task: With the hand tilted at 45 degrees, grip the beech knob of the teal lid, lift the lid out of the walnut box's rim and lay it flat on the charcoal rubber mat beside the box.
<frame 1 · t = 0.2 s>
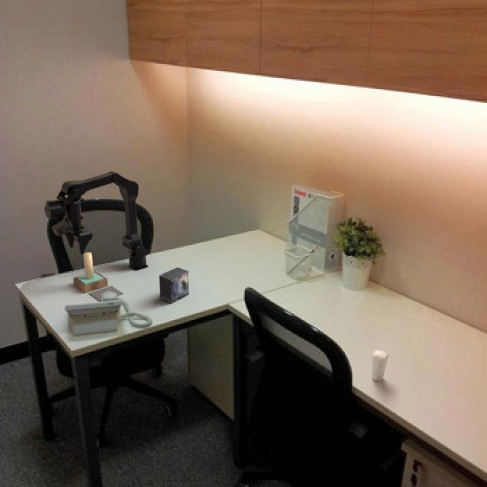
hand: (76, 251, 218), 15 cm above the table, tool pointing down, fingers open, 9 cm apart
mat: (106, 293, 216), on the table
walnut box: (90, 285, 223), on the table
small box: (174, 297, 214), on the table
lid: (90, 280, 222), point 2 cm above the table, touching walnut box
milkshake: (378, 379, 164), on the table
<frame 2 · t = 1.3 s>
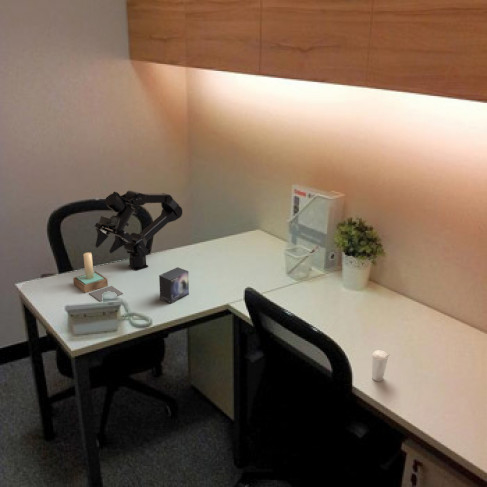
hand: (103, 249, 223), 13 cm above the table, tool tilted 45°, fingers open, 9 cm apart
nothing on the table moved.
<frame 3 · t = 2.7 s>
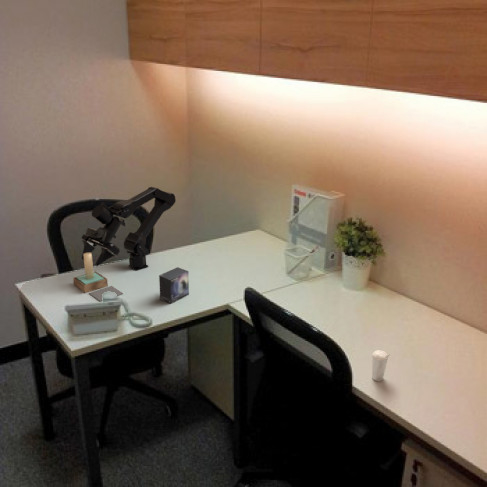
hand: (89, 262, 219), 10 cm above the table, tool tilted 45°, fingers open, 9 cm apart
nothing on the table moved.
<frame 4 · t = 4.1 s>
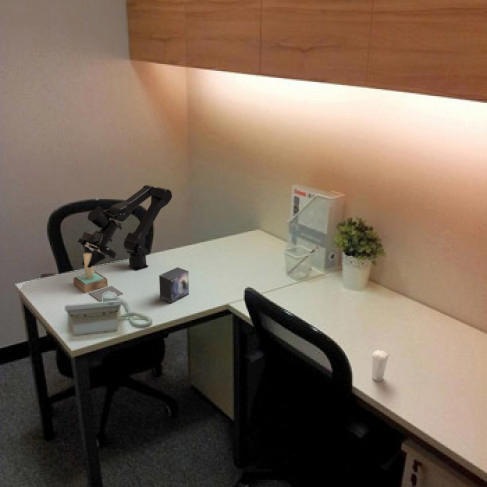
hand: (85, 266, 218), 9 cm above the table, tool tilted 45°, fingers closed on lid, 3 cm apart
lid: (90, 280, 222), point 2 cm above the table, touching gripper, walnut box
everything else where it was.
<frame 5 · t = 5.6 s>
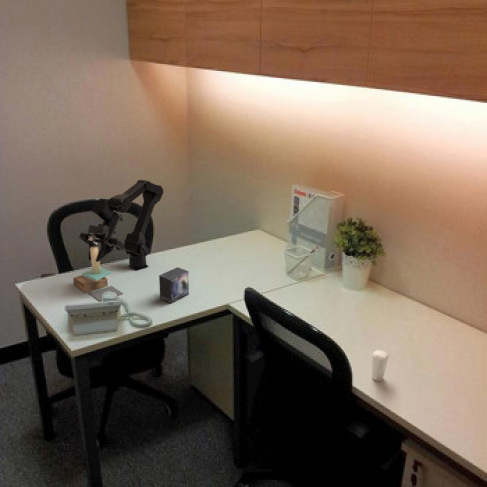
hand: (93, 260, 212), 14 cm above the table, tool tilted 45°, fingers closed on lid, 3 cm apart
lid: (96, 274, 215), point 7 cm above the table, touching gripper
everything else where it was.
when the fingers open (9 cm above the table, at t = 7.3 s): lid drops 2 cm, resting on mat.
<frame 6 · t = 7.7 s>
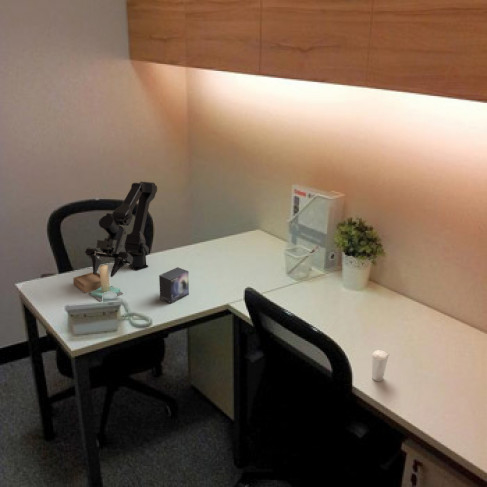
hand: (102, 275, 211), 9 cm above the table, tool tilted 45°, fingers open, 7 cm apart
lid: (106, 293, 215), resting on mat
everything else where it was.
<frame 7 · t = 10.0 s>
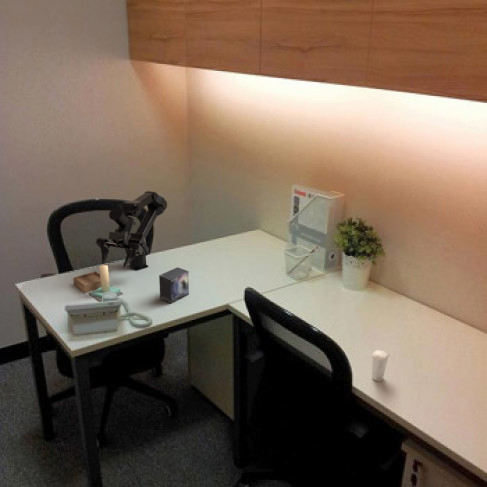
hand: (113, 265, 220), 9 cm above the table, tool tilted 40°, fingers open, 9 cm apart
nothing on the table moved.
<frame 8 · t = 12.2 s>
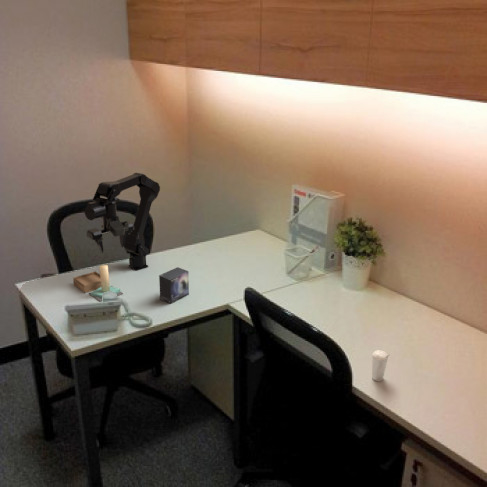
hand: (112, 249, 225), 13 cm above the table, tool pointing down, fingers open, 9 cm apart
nothing on the table moved.
at the end: lid inside the target area (0.2 cm from its centre), resting on mat; lid tilted 0°; the gripper is holding nothing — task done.
